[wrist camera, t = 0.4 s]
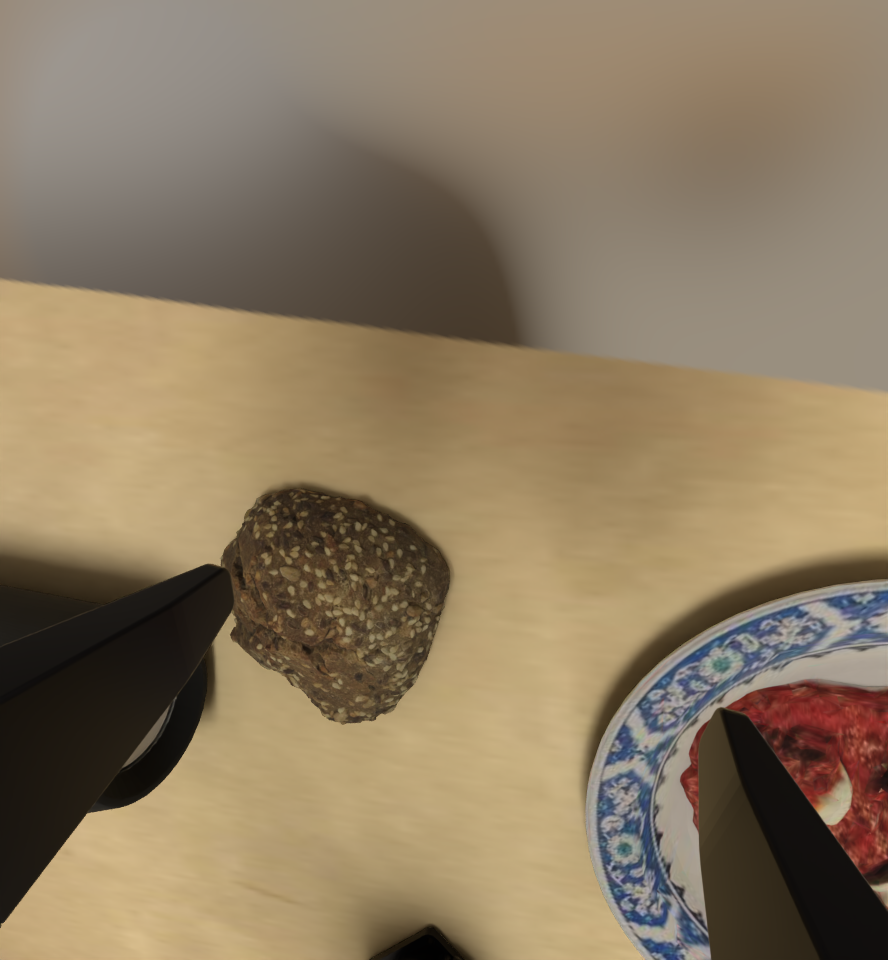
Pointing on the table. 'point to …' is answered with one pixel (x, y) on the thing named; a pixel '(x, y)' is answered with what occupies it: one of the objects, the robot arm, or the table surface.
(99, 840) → the table surface
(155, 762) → the portable speaker
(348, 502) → the bread roll
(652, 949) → the ceramic plate
